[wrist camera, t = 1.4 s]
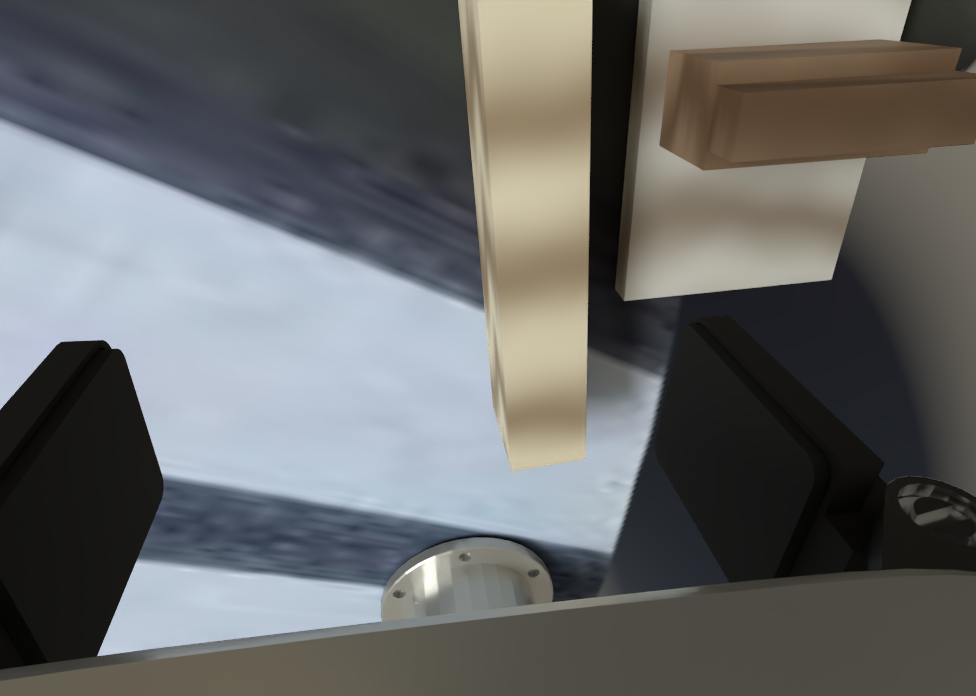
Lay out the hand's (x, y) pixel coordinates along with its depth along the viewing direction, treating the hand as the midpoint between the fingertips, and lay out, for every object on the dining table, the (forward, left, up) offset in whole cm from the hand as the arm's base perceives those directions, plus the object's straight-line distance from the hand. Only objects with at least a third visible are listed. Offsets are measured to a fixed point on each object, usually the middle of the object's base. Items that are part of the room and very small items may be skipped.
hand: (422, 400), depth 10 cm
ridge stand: (+1, -17, -20) cm, 27 cm away
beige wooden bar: (-5, -6, -21) cm, 22 cm away
